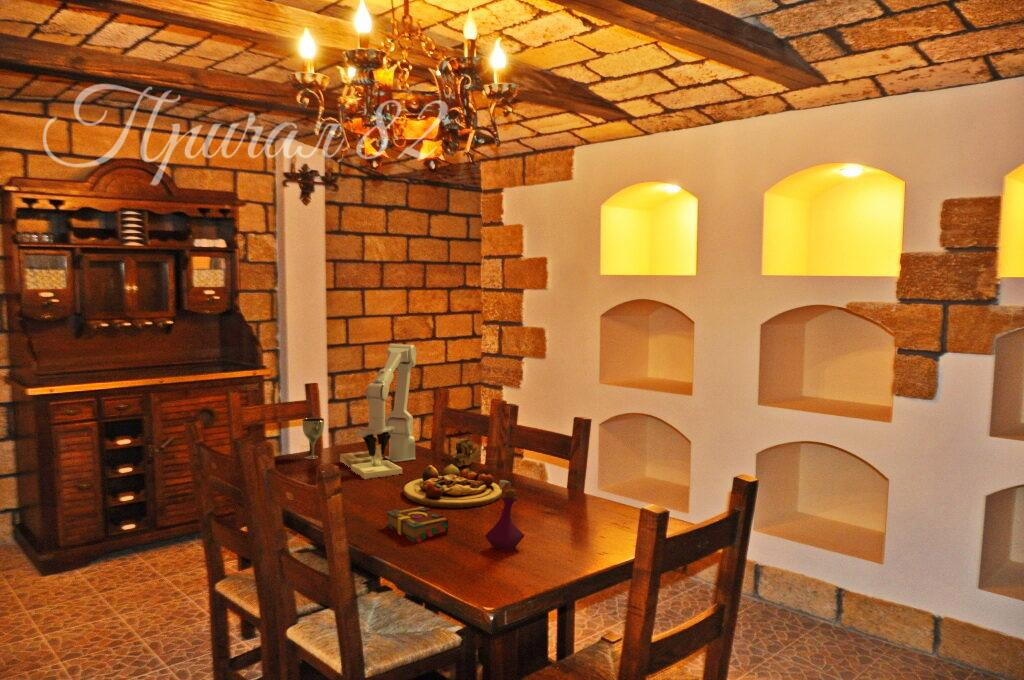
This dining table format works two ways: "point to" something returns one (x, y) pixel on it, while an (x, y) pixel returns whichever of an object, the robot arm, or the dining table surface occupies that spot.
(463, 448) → the wooden carving
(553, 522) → the dining table surface
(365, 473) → the tray
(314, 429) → the wine glass
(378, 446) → the peg
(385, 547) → the dining table surface
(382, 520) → the dining table surface
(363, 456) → the hitch block
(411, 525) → the decorative book
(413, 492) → the wooden plate with food
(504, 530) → the perfume bottle
